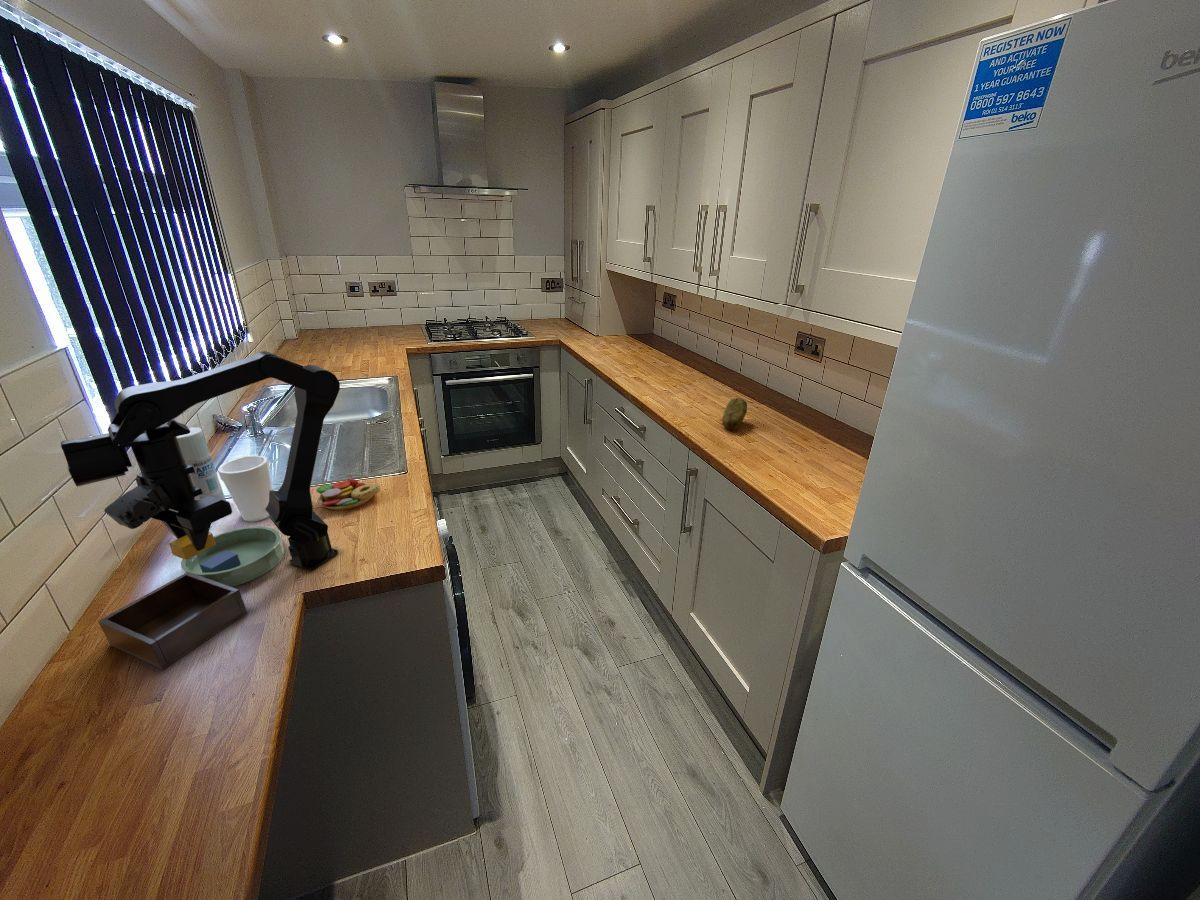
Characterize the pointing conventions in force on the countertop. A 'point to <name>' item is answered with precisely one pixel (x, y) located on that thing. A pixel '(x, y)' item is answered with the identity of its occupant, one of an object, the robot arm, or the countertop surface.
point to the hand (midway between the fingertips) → (193, 546)
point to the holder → (173, 619)
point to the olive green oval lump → (734, 413)
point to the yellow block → (189, 547)
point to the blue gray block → (220, 562)
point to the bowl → (241, 555)
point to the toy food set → (346, 494)
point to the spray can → (200, 464)
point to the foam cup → (248, 485)
